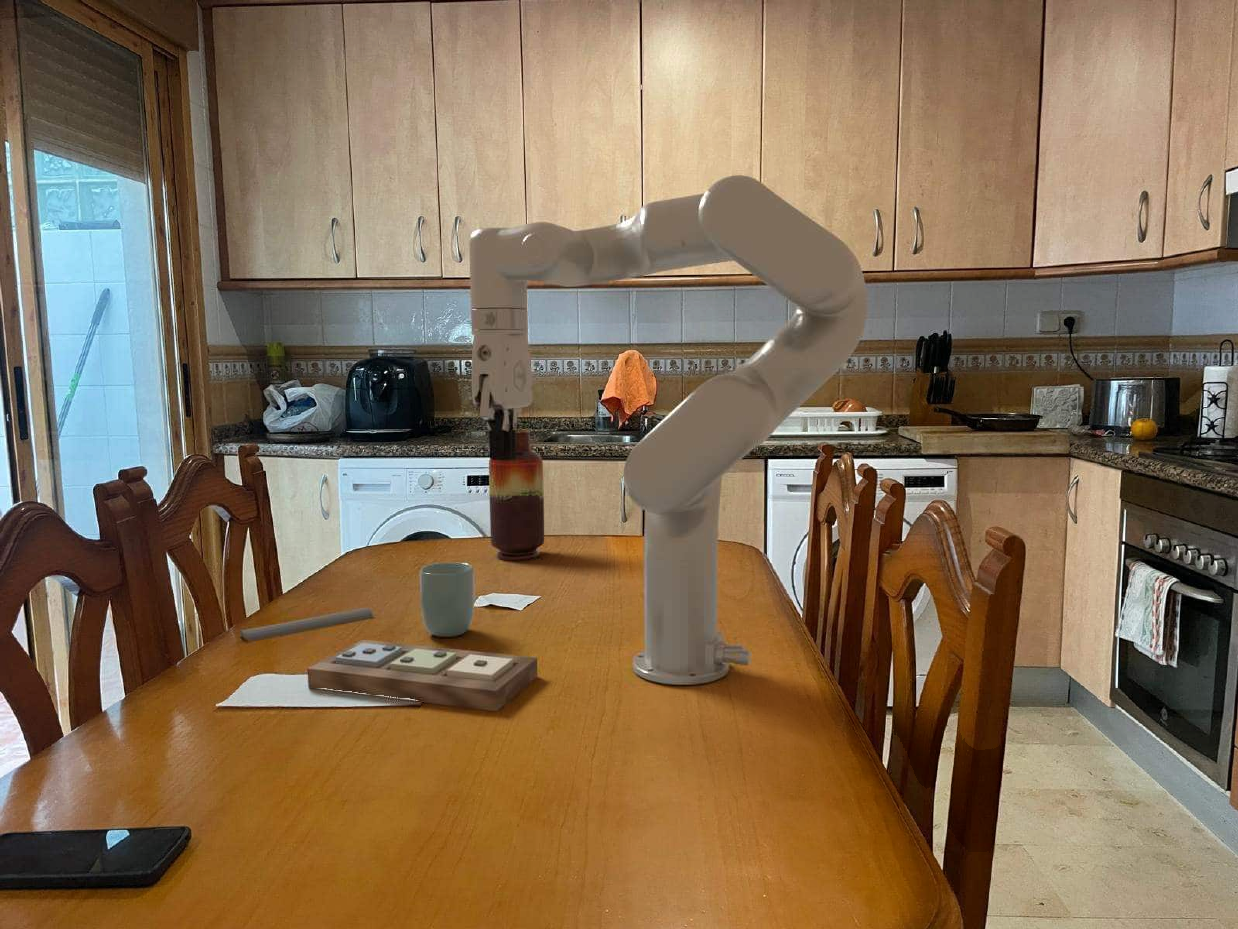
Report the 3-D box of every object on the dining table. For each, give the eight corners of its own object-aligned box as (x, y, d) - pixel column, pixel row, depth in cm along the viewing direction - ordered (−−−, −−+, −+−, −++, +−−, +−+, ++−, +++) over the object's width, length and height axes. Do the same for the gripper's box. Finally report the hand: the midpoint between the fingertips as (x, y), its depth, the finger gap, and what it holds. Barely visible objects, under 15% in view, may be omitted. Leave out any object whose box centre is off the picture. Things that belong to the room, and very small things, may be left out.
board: (537, 676, 116) (537, 657, 116) (496, 711, 104) (495, 690, 104) (363, 657, 124) (363, 639, 124) (308, 687, 113) (307, 668, 112)
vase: (555, 553, 188) (553, 429, 185) (522, 564, 179) (519, 433, 175) (513, 548, 194) (511, 427, 191) (479, 558, 184) (476, 431, 181)
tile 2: (456, 675, 116) (456, 650, 116) (433, 691, 110) (432, 666, 110) (416, 670, 118) (415, 646, 118) (390, 686, 112) (389, 661, 112)
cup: (463, 643, 130) (461, 575, 129) (413, 640, 131) (411, 573, 130) (482, 627, 137) (480, 563, 136) (434, 624, 139) (432, 561, 138)
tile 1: (513, 681, 114) (512, 656, 113) (492, 699, 108) (491, 672, 108) (470, 677, 115) (470, 652, 115) (447, 693, 110) (447, 667, 109)
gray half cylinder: (238, 639, 134) (237, 627, 134) (364, 615, 146) (363, 604, 146) (246, 646, 131) (245, 634, 131) (374, 621, 143) (374, 610, 142)
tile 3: (402, 669, 119) (401, 644, 118) (377, 684, 113) (375, 659, 112) (363, 664, 120) (362, 640, 120) (336, 680, 115) (335, 655, 114)
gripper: (500, 321, 112) (504, 467, 114) (547, 324, 126) (549, 454, 128) (447, 322, 115) (451, 465, 117) (498, 325, 129) (501, 453, 131)
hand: (502, 459), depth 123 cm, fingers closed
